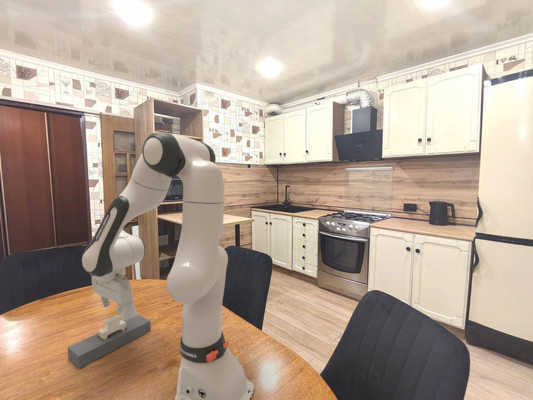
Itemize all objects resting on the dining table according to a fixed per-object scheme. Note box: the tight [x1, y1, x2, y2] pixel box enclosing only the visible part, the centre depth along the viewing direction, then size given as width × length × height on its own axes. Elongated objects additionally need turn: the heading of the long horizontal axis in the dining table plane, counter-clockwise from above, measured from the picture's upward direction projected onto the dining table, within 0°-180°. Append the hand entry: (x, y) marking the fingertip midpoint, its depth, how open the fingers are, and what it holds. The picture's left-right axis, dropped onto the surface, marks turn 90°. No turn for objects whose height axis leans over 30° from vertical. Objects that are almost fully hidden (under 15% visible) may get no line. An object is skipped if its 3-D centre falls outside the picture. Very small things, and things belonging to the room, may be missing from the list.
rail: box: [67, 314, 152, 369], centre depth 90 cm, size 8×24×4 cm, turn 148°
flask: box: [119, 294, 140, 321], centre depth 106 cm, size 7×7×10 cm
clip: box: [97, 314, 126, 341], centre depth 90 cm, size 3×8×10 cm, turn 148°
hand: (112, 309), depth 89 cm, fingers open, 8 cm apart
